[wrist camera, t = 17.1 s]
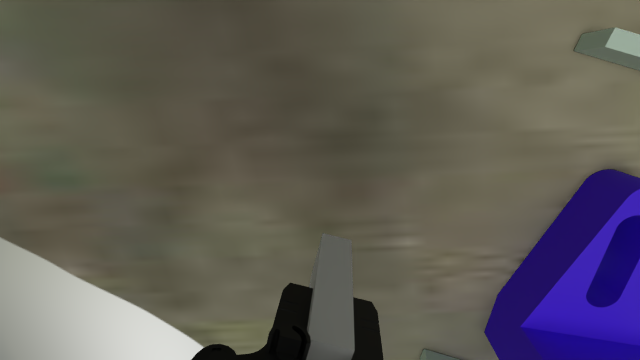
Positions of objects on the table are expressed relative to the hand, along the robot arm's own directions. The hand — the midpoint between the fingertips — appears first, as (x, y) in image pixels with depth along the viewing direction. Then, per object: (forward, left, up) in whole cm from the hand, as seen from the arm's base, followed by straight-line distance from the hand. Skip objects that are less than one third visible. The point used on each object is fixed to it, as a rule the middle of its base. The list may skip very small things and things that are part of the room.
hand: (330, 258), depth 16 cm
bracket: (+1, +23, -13) cm, 26 cm away
